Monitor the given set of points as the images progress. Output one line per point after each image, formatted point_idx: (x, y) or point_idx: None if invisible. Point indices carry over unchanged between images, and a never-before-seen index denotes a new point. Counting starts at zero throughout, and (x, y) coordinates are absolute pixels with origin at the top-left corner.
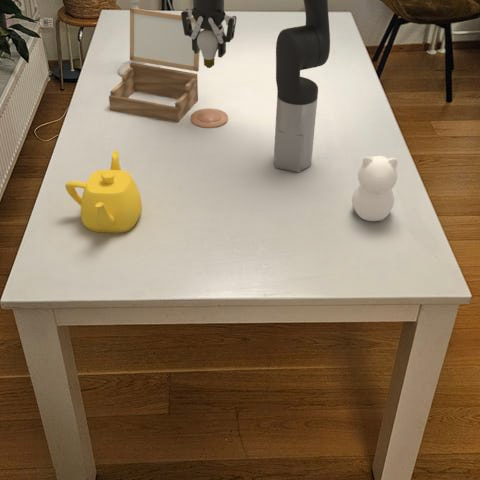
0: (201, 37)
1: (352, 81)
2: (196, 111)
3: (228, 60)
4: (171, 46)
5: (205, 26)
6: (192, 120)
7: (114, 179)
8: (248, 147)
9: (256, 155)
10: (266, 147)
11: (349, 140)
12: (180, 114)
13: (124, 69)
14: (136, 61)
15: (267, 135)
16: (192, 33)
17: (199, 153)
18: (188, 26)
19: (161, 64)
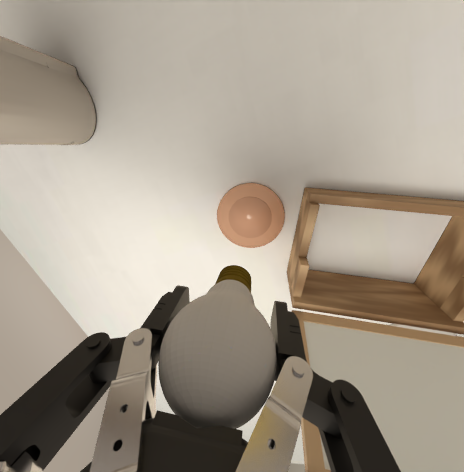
0: (236, 357)
1: None
2: (278, 232)
3: None
4: (379, 373)
5: (204, 454)
6: (276, 197)
7: None
8: (150, 133)
9: (126, 107)
10: (125, 145)
11: (40, 207)
12: (303, 204)
13: None
14: None
15: (141, 188)
16: (305, 393)
17: (226, 67)
18: (349, 457)
19: (385, 326)
